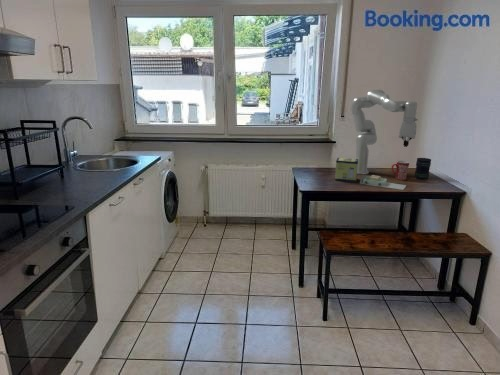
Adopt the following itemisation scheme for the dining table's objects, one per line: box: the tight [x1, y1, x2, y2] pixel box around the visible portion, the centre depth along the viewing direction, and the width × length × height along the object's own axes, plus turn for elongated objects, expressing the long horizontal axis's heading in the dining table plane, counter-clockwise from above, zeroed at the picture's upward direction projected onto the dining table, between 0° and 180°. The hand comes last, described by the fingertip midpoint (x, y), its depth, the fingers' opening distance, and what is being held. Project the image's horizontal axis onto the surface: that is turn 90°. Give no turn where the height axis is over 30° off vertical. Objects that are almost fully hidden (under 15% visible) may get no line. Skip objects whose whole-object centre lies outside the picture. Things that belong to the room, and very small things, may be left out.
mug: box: [391, 160, 411, 181], centre depth 255 cm, size 13×9×14 cm
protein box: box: [334, 157, 358, 183], centre depth 254 cm, size 10×16×16 cm
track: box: [359, 174, 407, 191], centre depth 242 cm, size 30×12×4 cm, turn 56°
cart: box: [363, 175, 388, 187], centre depth 245 cm, size 14×12×3 cm
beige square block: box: [369, 174, 381, 181], centre depth 245 cm, size 6×6×4 cm
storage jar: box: [414, 157, 432, 181], centre depth 257 cm, size 10×10×15 cm
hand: (405, 146), depth 237 cm, fingers closed
